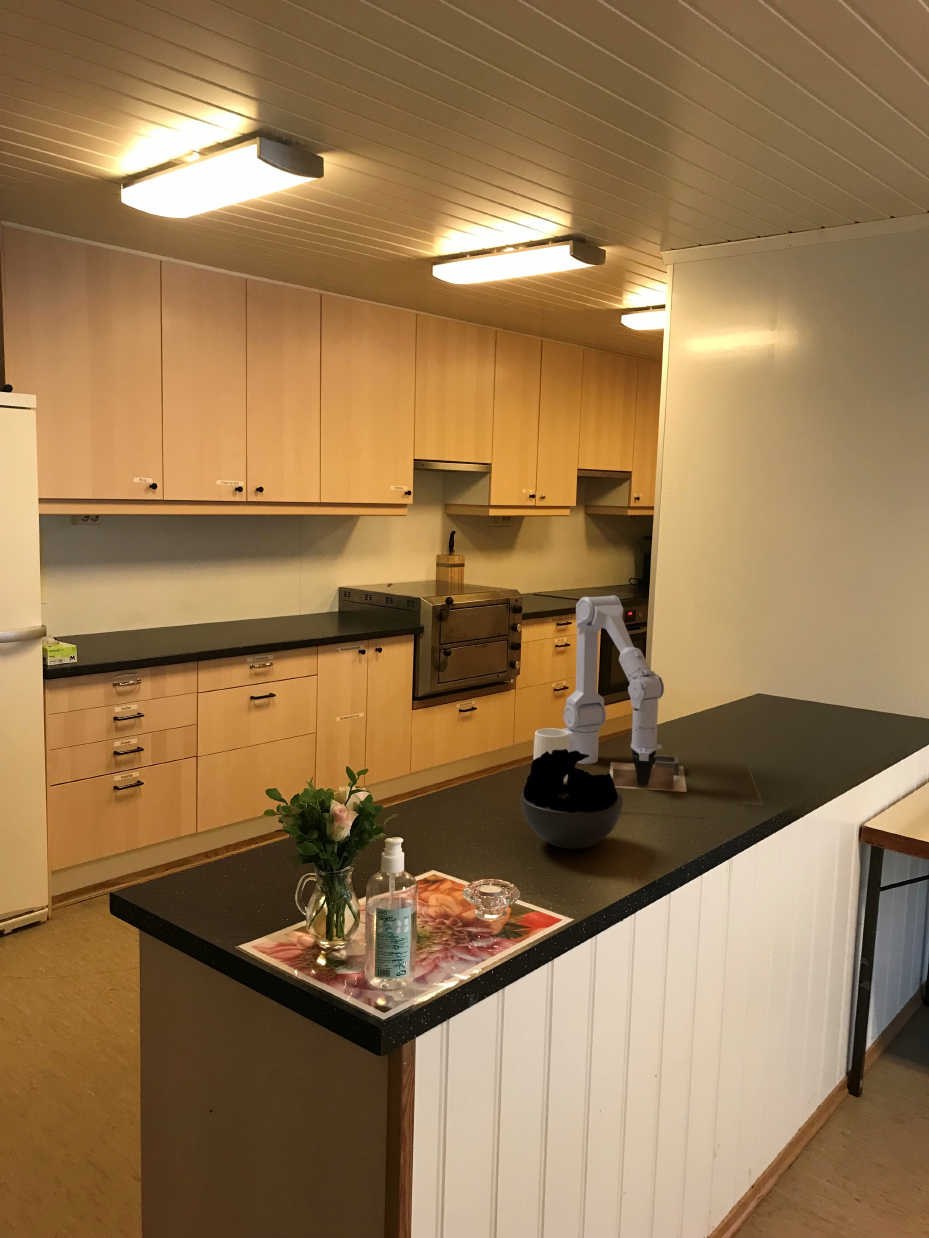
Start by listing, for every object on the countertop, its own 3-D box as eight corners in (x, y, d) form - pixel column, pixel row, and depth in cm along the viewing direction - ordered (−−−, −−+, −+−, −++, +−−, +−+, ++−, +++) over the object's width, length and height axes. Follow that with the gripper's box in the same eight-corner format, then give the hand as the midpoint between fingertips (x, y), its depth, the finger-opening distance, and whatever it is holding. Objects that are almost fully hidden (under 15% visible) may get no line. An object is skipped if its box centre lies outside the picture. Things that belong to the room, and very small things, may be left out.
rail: (612, 785, 231) (612, 768, 231) (612, 781, 235) (613, 764, 234) (673, 789, 229) (673, 772, 228) (672, 784, 232) (673, 768, 232)
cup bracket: (655, 774, 241) (655, 762, 240) (654, 766, 247) (655, 754, 247) (678, 775, 240) (679, 763, 239) (677, 767, 246) (678, 756, 246)
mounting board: (607, 789, 230) (608, 786, 230) (610, 765, 251) (610, 762, 251) (686, 794, 227) (686, 791, 227) (683, 769, 248) (683, 766, 248)
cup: (567, 798, 224) (568, 737, 222) (530, 795, 225) (531, 735, 224) (570, 787, 232) (572, 728, 230) (535, 785, 234) (536, 726, 232)
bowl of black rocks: (556, 821, 208) (558, 735, 206) (640, 843, 196) (643, 752, 193) (499, 847, 193) (500, 754, 190) (586, 873, 180) (588, 774, 178)
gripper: (662, 734, 222) (660, 792, 224) (661, 719, 236) (659, 774, 238) (631, 733, 223) (629, 790, 225) (631, 718, 237) (630, 773, 239)
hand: (642, 782), depth 232 cm, fingers closed on rail, 3 cm apart
